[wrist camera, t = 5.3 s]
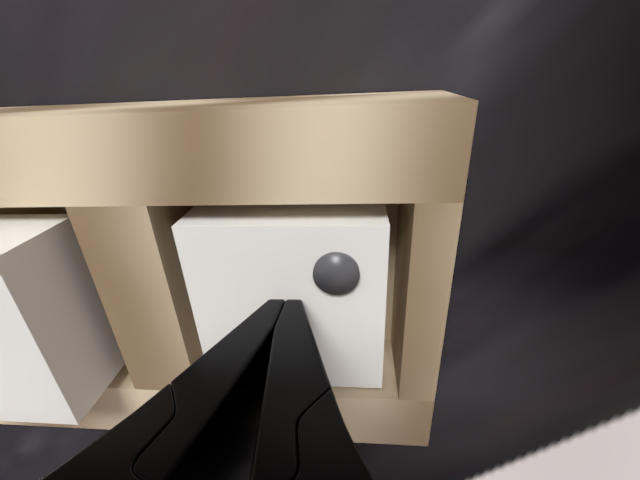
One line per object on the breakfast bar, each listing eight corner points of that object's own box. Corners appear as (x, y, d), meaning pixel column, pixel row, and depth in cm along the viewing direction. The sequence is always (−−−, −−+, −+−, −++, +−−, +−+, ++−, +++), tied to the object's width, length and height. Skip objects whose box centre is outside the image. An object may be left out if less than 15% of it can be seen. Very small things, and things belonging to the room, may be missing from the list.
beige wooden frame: (441, 90, 9) (478, 100, 7) (413, 371, 14) (428, 446, 11) (-321, 120, 11) (-527, 137, 9) (-133, 353, 16) (-232, 411, 13)
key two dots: (381, 190, 10) (390, 228, 8) (376, 330, 12) (382, 392, 10) (208, 192, 10) (168, 229, 8) (234, 327, 13) (208, 385, 10)
